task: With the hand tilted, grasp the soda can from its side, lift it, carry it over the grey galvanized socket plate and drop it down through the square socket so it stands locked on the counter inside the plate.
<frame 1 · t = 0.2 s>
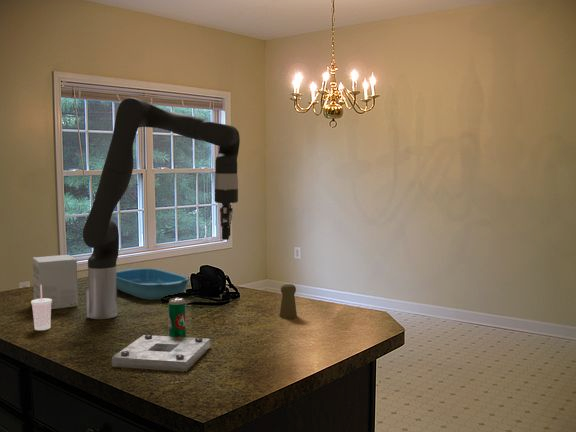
hand: (226, 237, 191), 28 cm above the kitchen island, tool pointing down, fingers open, 8 cm apart
casserole dish: (149, 292, 241), on the kitchen island
socket plate: (163, 356, 161), on the kitchen island
cork: (288, 316, 203), on the kitchen island
soda can: (177, 339, 177), on the kitchen island
beverage cup: (42, 328, 188), on the kitchen island
supplement box: (55, 305, 218), on the kitchen island
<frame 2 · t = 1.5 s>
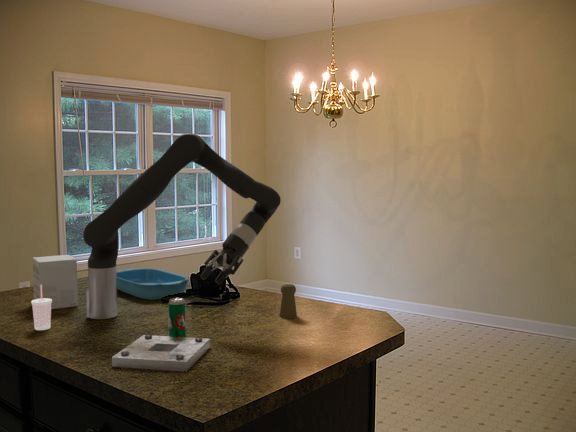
hand: (209, 280, 183), 16 cm above the kitchen island, tool tilted 45°, fingers open, 8 cm apart
nothing on the kitchen island moved.
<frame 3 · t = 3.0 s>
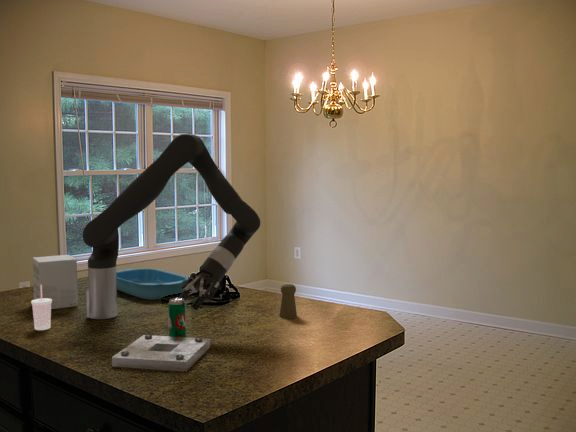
hand: (186, 305, 178), 10 cm above the kitchen island, tool tilted 45°, fingers open, 8 cm apart
nothing on the kitchen island moved.
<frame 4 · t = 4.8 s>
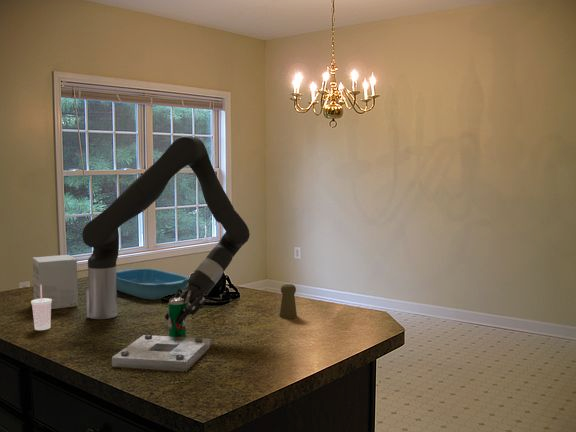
hand: (171, 321, 175), 6 cm above the kitchen island, tool tilted 45°, fingers closed on soda can, 5 cm apart
soda can: (177, 339, 177), on the kitchen island, touching gripper
everything else where it was.
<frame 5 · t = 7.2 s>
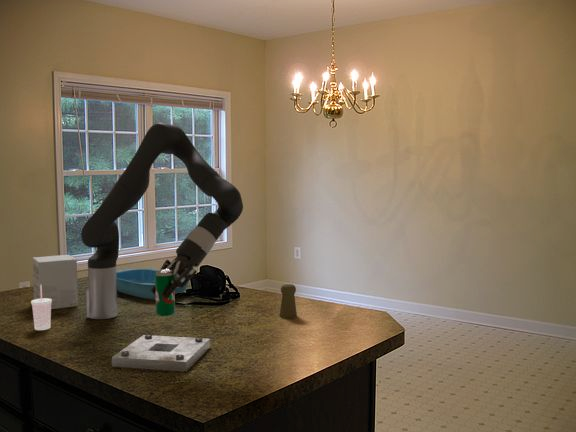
hand: (158, 294, 159), 17 cm above the kitchen island, tool tilted 45°, fingers closed on soda can, 5 cm apart
soda can: (165, 315, 160), point 11 cm above the kitchen island, touching gripper
everything else where it was.
when the fingers open (7 cm above the kitchen island, at t = 9.6 s): soda can drops 1 cm, resting in socket plate.
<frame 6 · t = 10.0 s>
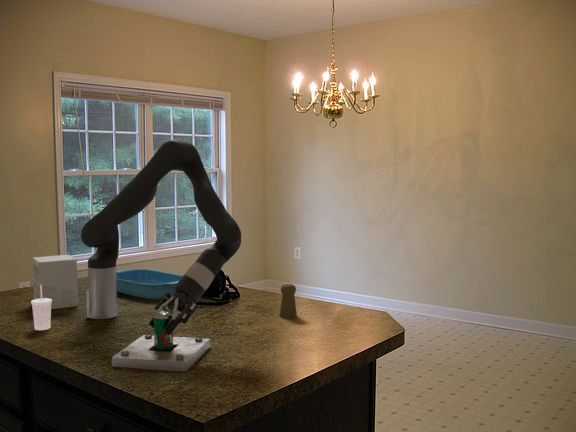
hand: (158, 329, 159), 8 cm above the kitchen island, tool tilted 45°, fingers open, 8 cm apart
soda can: (163, 357, 161), resting in socket plate
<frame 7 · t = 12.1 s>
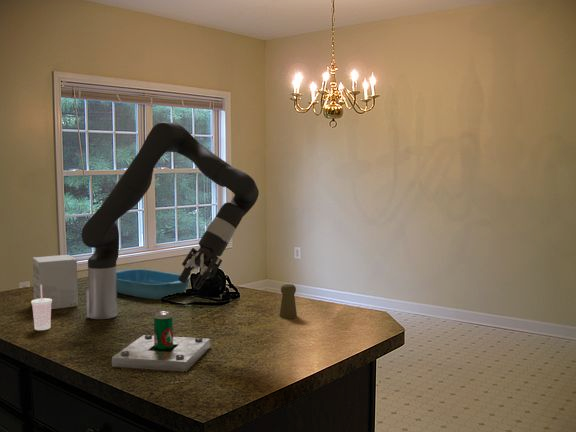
hand: (188, 285, 168), 18 cm above the kitchen island, tool tilted 35°, fingers open, 8 cm apart
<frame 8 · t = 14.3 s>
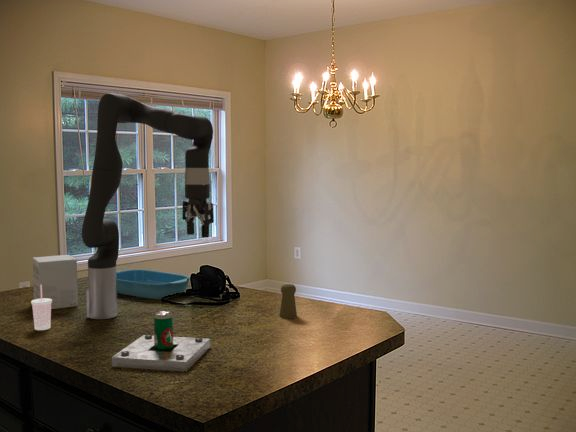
hand: (197, 235, 181), 30 cm above the kitchen island, tool pointing down, fingers open, 8 cm apart
at the end: soda can 0.2 cm off-centre on the socket plate, point 0.0 cm above the socket plate's base; soda can tilted 0°; the gripper is holding nothing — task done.
